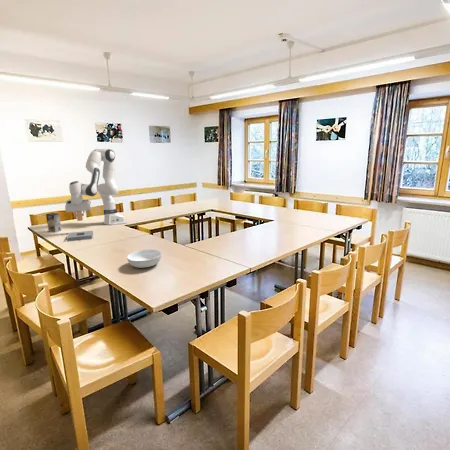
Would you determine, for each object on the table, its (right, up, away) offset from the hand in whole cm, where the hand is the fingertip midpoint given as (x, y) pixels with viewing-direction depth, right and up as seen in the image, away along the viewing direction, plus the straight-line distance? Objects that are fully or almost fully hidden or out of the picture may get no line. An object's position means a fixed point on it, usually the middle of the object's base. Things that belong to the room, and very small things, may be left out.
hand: (79, 216), depth 261 cm
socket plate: (+7, -18, -12) cm, 23 cm away
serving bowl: (+77, -33, -73) cm, 111 cm away
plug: (0, -4, +1) cm, 4 cm away
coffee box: (-27, -14, +9) cm, 31 cm away
